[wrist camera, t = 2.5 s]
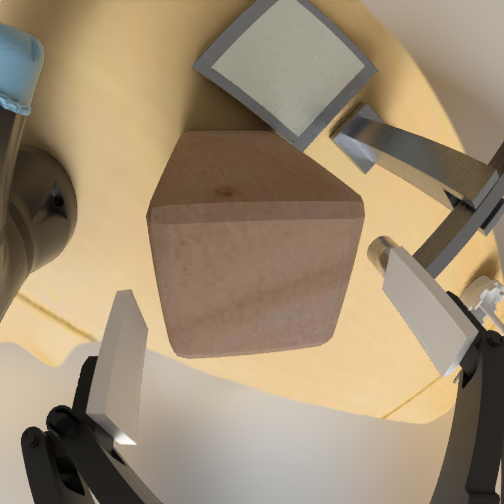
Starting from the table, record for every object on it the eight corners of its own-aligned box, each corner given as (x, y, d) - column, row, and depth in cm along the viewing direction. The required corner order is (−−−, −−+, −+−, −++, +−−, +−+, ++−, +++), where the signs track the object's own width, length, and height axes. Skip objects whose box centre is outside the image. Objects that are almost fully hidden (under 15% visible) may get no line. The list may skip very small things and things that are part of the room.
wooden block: (179, 130, 27) (139, 203, 11) (275, 129, 29) (377, 198, 12) (183, 218, 33) (171, 366, 16) (270, 215, 34) (334, 349, 17)
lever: (358, 250, 21) (398, 300, 16) (497, 83, 14) (549, 97, 9) (379, 269, 22) (417, 318, 17) (508, 111, 16) (556, 129, 11)
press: (192, 68, 24) (171, 30, 8) (276, -15, 20) (367, -105, 4) (342, 191, 34) (445, 293, 17) (407, 119, 30) (537, 172, 13)
